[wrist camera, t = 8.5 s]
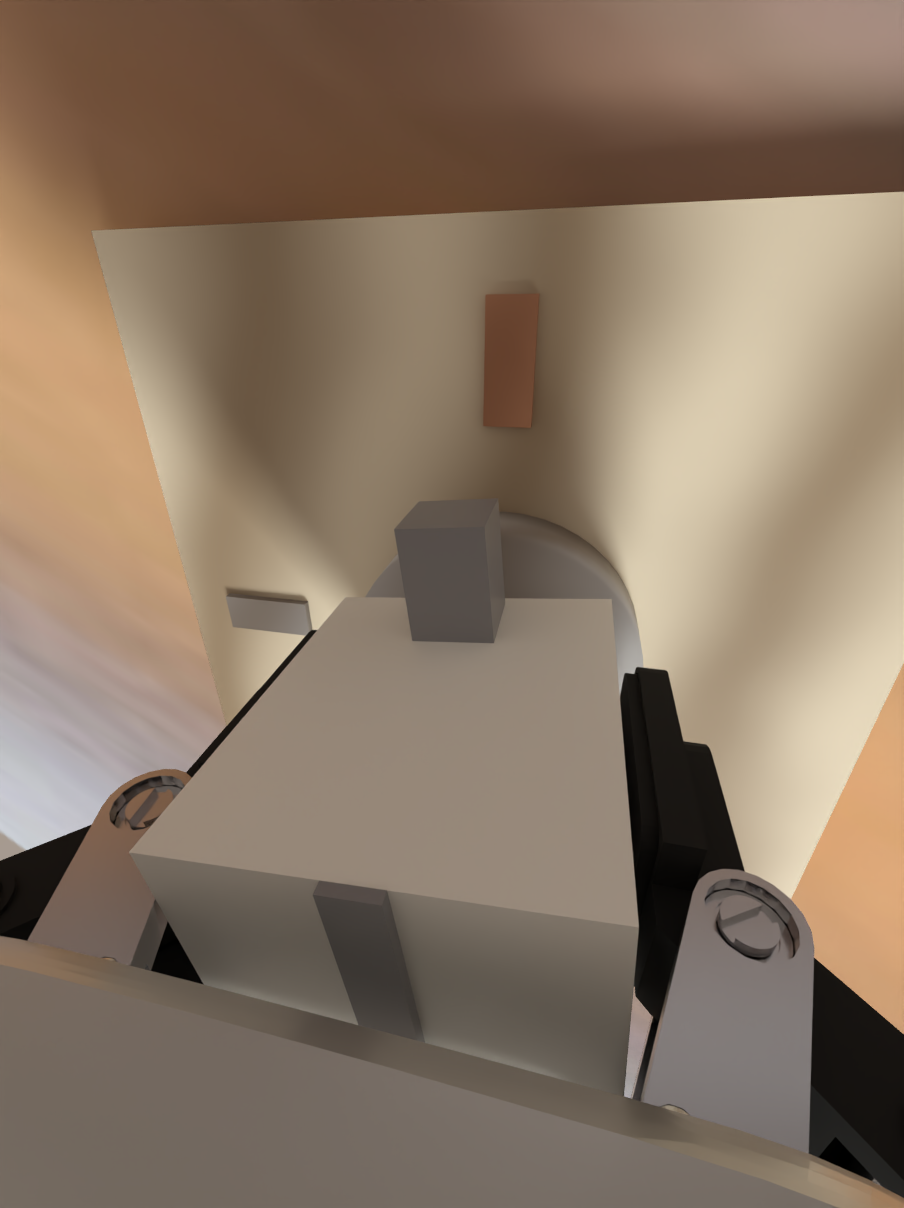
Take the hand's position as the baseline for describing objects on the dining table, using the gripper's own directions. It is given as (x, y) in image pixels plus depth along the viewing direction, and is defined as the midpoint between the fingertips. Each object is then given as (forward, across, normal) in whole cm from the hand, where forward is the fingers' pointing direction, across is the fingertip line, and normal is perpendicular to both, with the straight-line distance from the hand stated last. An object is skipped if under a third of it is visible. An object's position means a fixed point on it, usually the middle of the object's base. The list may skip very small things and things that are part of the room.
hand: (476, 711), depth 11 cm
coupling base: (+5, 0, 0) cm, 5 cm away
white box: (0, 0, -1) cm, 1 cm away
